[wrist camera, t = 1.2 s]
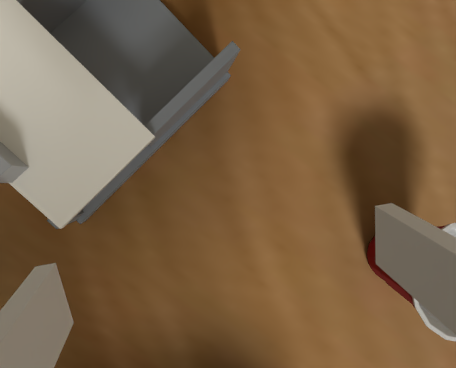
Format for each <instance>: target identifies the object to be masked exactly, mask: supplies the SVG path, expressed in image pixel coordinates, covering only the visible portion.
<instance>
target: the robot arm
mask: <svg viewBox="0 0 456 368" xmlns="http://www.w3.org/2000/svg"><path fill="white" fill-rule="evenodd" d="M375 255H376V265H378V266H379V267H380V268H381V269H382V270H383V271H384V272H385V273H387V274H388V275H389V276H390V277H391V278H392V279H393V280H394V281H396V282H397V283H398V284H399V285H400V286H401V287H402V288H403V289H405V290H406V291H407V292H408V293H409V294H410V295H411V296H413V297H414V298H415V299H416V300H417V301H418V302H419V303H420V304H422V305H423V306H424V307H425V308H426V309H427V310H428V311H429V312H431V313H432V314H433V315H434V316H435V317H436V318H437V319H438V320H440V321H441V322H442V323H443V324H444V325H445V326H446V327H447V328H449V329H450V330H451V331H452V332H453V333H454V334H455V335H456V237H454V236H452V235H450V234H449V233H447V232H445V231H443V230H441V229H439V228H437V227H436V226H434V225H432V224H430V223H428V222H426V221H424V220H423V219H421V218H419V217H417V216H415V215H413V214H411V213H410V212H408V211H406V210H404V209H402V208H400V207H398V206H397V205H395V204H393V203H389V204H383V205H378V206H375ZM73 323H74V322H73V318H72V315H71V312H70V308H69V305H68V302H67V298H66V295H65V292H64V288H63V285H62V282H61V278H60V275H59V272H58V269H57V265H56V263H52V264H47V265H41V266H36V267H35V268H34V269H33V270H32V271H31V273H30V274H29V275H28V276H27V278H26V279H25V280H24V281H23V283H22V284H21V285H20V286H19V288H18V289H17V290H16V292H15V293H14V294H13V295H12V297H11V298H10V299H9V300H8V302H7V303H6V304H5V305H4V307H3V308H2V309H1V310H0V368H54V367H55V364H56V362H57V360H58V357H59V355H60V353H61V351H62V348H63V346H64V344H65V342H66V339H67V337H68V335H69V332H70V330H71V328H72V326H73Z"/></svg>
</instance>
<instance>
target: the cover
mask: <svg viewBox="0 0 456 368" xmlns="http://www.w3.org/2000/svg"><path fill="white" fill-rule="evenodd" d="M154 138H155V136H154V135H153V134H152V133H151V132H150V131H149V130H148V129H147V128H146V127H145V126H144V125H143V124H142V123H141V122H140V121H139V120H138V119H137V118H136V117H135V116H134V115H133V114H132V113H131V112H130V111H129V110H128V109H127V108H126V107H124V106H123V105H122V104H121V103H120V102H119V101H118V100H117V99H116V98H115V97H114V96H113V95H112V94H111V93H110V92H109V91H108V90H107V89H106V88H105V87H104V86H103V85H102V84H101V83H100V82H99V81H98V80H97V79H96V78H95V77H94V76H93V75H92V74H91V73H90V72H89V71H88V70H87V69H86V68H85V67H84V66H83V65H82V64H81V63H80V62H79V61H78V60H77V59H76V58H75V57H74V56H73V55H72V54H70V53H69V52H68V51H67V50H66V49H65V48H64V47H63V46H62V45H61V44H60V43H59V42H58V41H57V40H56V39H55V38H54V37H53V36H52V35H51V34H50V33H49V32H48V31H47V30H46V29H45V28H44V27H43V26H42V25H41V24H40V23H39V22H38V21H37V20H36V19H35V18H34V17H33V16H32V15H31V14H30V13H29V12H28V11H27V10H26V9H25V8H24V7H23V6H22V5H21V4H20V3H19V2H18V1H16V0H0V183H9V184H10V185H11V186H12V187H13V188H15V189H16V190H17V191H18V192H19V193H20V194H21V195H22V196H24V197H25V198H26V199H27V200H28V201H29V202H30V203H32V204H33V205H34V206H35V207H36V208H37V209H38V210H39V211H41V212H42V213H43V214H44V215H45V216H46V217H47V218H48V219H50V220H51V221H52V222H53V223H54V224H55V225H56V226H57V227H59V228H60V229H62V228H64V227H65V226H66V225H67V224H68V223H69V222H70V221H71V220H72V219H73V218H74V217H75V216H76V215H77V214H78V213H79V212H80V211H81V210H82V209H83V208H84V207H85V206H86V205H87V204H88V203H89V202H90V201H91V200H92V199H93V198H94V197H95V196H96V195H97V194H98V193H99V192H100V191H101V190H102V189H103V188H104V187H105V186H107V185H108V184H109V183H110V182H111V181H112V180H113V179H114V178H115V177H116V176H117V175H118V174H119V173H120V172H121V171H122V170H123V169H124V168H125V167H126V166H127V165H128V164H129V163H130V162H131V161H132V160H133V159H134V158H135V157H136V156H137V155H138V154H139V153H140V152H141V151H142V150H143V149H144V148H145V147H146V146H147V145H148V144H149V143H150V142H151V141H152V140H153V139H154Z"/></svg>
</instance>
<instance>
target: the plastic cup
mask: <svg viewBox="0 0 456 368" xmlns="http://www.w3.org/2000/svg"><path fill="white" fill-rule="evenodd" d="M437 228H439V229H441V230H443V231H445V232H447V233H449V234H450V235H452V236H454V237H456V223H453V224H448V225H446V226H441V227H437ZM367 258H368V264H369V265H370V267H371V269H372V270H373V271H374V273H375V274H376V275H378V276H379V277H380V278H382V279H383V280H384V281H386V283H387V284H388V285H389V286H391V287H392V288H393V289H394V290H395V291H397V292H398V293H399V294H400V295H402V296H403V297H404V298H405V299H407V300H408V301H409V302H410V303H411V304H413V306H414V307H415V308H416V310H417V311H418V313H419V315H420V316H421V318H422V320H423V321H424V323H425V324H426V326H427V327H428V328H430V329H431V330H433V331H434V332H435V333H437V334H438V335H440V336H441V337H443V338H444V339H446V340H451V341H456V335H455V334H454V333H453V332H452V331H451V330H450V329H449V328H447V327H446V326H445V325H444V324H443V323H442V322H441V321H440V320H438V319H437V318H436V317H435V316H434V315H433V314H432V313H431V312H429V311H428V310H427V309H426V308H425V307H424V306H423V305H422V304H420V303H419V302H418V301H417V300H416V299H415V298H414V297H413V296H411V295H410V294H409V293H408V292H407V291H406V290H405V289H403V288H402V287H401V286H400V285H399V284H398V283H397V282H396V281H394V280H393V279H392V278H391V277H390V276H389V275H388V274H387V273H385V272H384V271H383V270H382V269H381V268H380V267H379V266H378V265H376V255H375V236H374V237H373V239H372V240H371V242H370V244H369V246H368V251H367Z"/></svg>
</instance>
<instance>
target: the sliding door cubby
mask: <svg viewBox="0 0 456 368" xmlns="http://www.w3.org/2000/svg"><path fill="white" fill-rule="evenodd" d="M16 1H18V2H19V3H20V4H21V5H22V6H23V7H24V8H25V9H26V10H27V11H28V12H29V13H30V14H31V15H32V16H33V17H34V18H35V19H36V20H37V21H38V22H39V23H40V24H41V25H42V26H43V27H44V28H45V29H46V30H47V31H48V32H49V33H50V34H51V35H52V36H53V37H54V38H55V39H56V40H57V41H58V42H59V43H60V44H61V45H62V46H63V47H64V48H65V49H66V50H67V51H68V52H69V53H70V54H72V55H73V56H74V57H75V58H76V59H77V60H78V61H79V62H80V63H81V64H82V65H83V66H84V67H85V68H86V69H87V70H88V71H89V72H90V73H91V74H92V75H93V76H94V77H95V78H96V79H97V80H98V81H99V82H100V83H101V84H102V85H103V86H104V87H105V88H106V89H107V90H108V91H109V92H110V93H111V94H112V95H113V96H114V97H115V98H116V99H117V100H118V101H119V102H120V103H121V104H122V105H123V106H124V107H126V108H127V109H128V110H129V111H130V112H131V113H132V114H133V115H134V116H135V117H136V118H137V119H138V120H139V121H140V122H141V123H142V124H143V125H144V126H145V127H146V128H147V129H148V130H149V131H150V132H151V133H152V134H153V135H154V136H155V138H154V139H153V140H152V141H151V142H150V143H149V144H148V145H147V146H146V147H145V148H144V149H143V150H142V151H141V152H140V153H139V154H138V155H137V156H136V157H135V158H134V159H133V160H132V161H131V162H130V163H129V164H128V165H127V166H126V167H125V168H124V169H123V170H122V171H121V172H120V173H119V174H118V175H117V176H116V177H115V178H114V179H113V180H112V181H111V182H110V183H109V184H108V185H107V186H105V187H104V188H103V189H102V190H101V191H100V192H99V193H98V194H97V195H96V196H95V197H94V198H93V199H92V200H91V201H90V202H89V203H88V204H87V205H86V206H85V207H84V208H83V209H82V210H81V211H80V212H79V213H78V214H77V215H76V216H75V217H74V218H73V219H72V220H71V221H70V222H69V223H68V224H70V223H72V222H74V221H77V222H79V223H80V224H81V223H83V222H85V221H86V220H87V219H88V218H89V217H90V216H91V215H92V214H93V213H94V212H95V211H96V210H97V209H98V208H99V207H100V206H101V205H102V204H103V203H104V202H105V201H106V200H107V199H108V198H109V197H110V196H111V195H112V194H113V193H114V192H115V191H116V190H117V189H118V188H120V187H121V186H122V185H123V184H124V183H125V182H126V181H127V180H128V179H129V178H130V177H131V176H132V175H133V174H134V173H135V172H136V171H137V170H138V169H139V168H140V167H141V166H142V165H143V164H144V163H145V162H146V161H147V160H148V159H149V158H150V157H151V156H152V155H153V154H154V153H155V152H156V151H157V150H158V149H159V148H160V147H161V146H162V145H163V144H164V143H165V142H166V141H167V140H168V139H169V138H170V137H171V136H172V135H173V134H174V133H175V132H176V131H177V130H178V129H179V128H180V127H181V126H182V125H183V124H184V123H185V122H186V121H187V120H188V119H189V118H190V117H191V116H192V115H193V114H194V113H195V112H197V111H198V110H199V109H200V108H201V107H202V106H203V105H204V104H205V103H206V102H207V101H208V100H209V99H210V98H211V97H212V96H213V95H214V94H215V93H216V92H217V91H218V90H219V89H220V88H221V87H222V86H223V85H224V84H225V83H226V82H227V81H228V79H229V78H230V76H231V75H230V74H229V73H228V70H229V68H230V67H231V65H232V63H233V62H234V60H235V58H236V56H237V55H238V53H239V51H240V49H239V48H238V46H237V45H236V44H235V43H234V42H233V41H232V42H231V43H230V44H229V45H227V46H226V47H225V48H224V49H223V50H222V51H221V52H220V53H219V54H218V55H217V56H216V57H215V58H214V57H213V56H212V55H211V54H210V53H209V52H208V51H207V50H206V49H205V48H204V47H203V46H202V44H201V43H200V42H199V41H198V40H197V39H196V38H195V37H194V36H193V35H192V34H191V33H190V32H189V31H188V30H187V29H186V28H185V27H184V25H183V24H182V23H181V22H180V21H179V20H178V19H177V18H176V17H175V16H174V15H173V14H172V13H171V12H170V11H169V10H168V9H167V8H166V6H165V5H164V4H163V3H162V2H161V1H160V0H16ZM47 221H48V222H49V223H50V224H51V225H52V226H54V227H55V228H56V229H59V227H57V226H56V225H55V224H54V223H53V222H52V221H51V220H50V219H48V220H47Z"/></svg>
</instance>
